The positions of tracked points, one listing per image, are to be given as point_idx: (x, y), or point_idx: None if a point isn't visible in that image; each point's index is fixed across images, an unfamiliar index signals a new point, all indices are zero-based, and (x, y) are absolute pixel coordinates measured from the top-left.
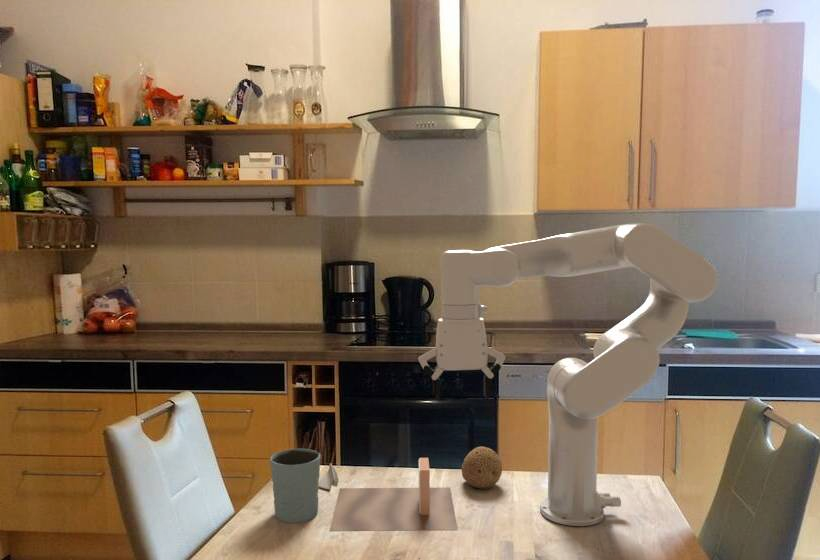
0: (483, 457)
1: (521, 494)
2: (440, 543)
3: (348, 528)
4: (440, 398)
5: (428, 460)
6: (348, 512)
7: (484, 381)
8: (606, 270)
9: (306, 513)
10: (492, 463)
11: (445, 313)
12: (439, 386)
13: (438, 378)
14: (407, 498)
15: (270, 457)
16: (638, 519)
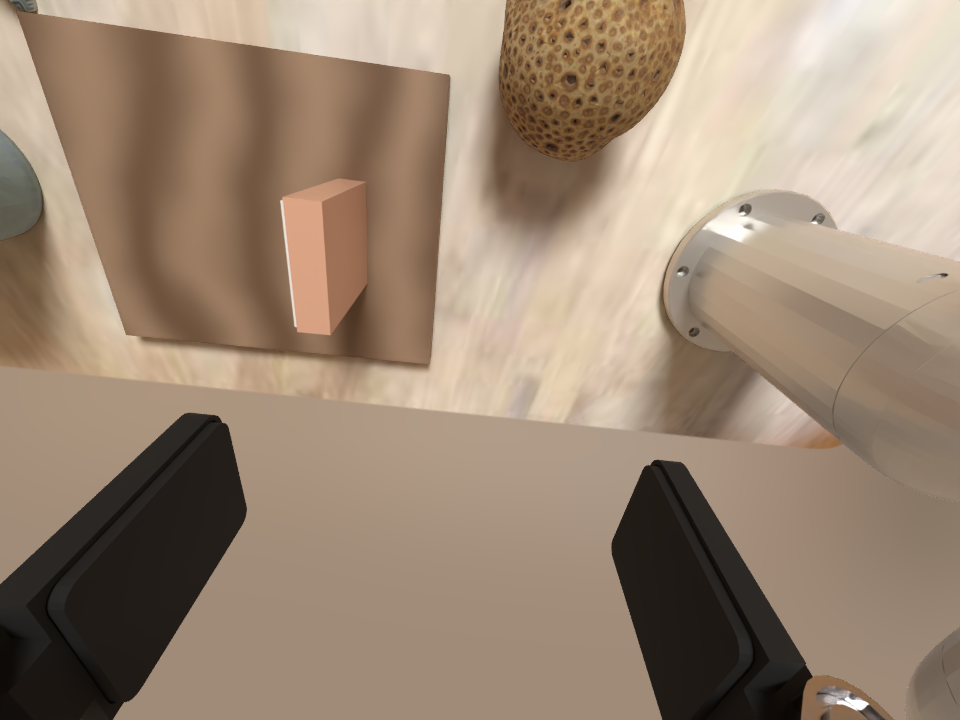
0: (588, 115)
1: (685, 119)
2: (391, 372)
3: (169, 329)
4: (242, 522)
5: (323, 235)
6: (135, 239)
7: (682, 650)
8: None
9: (11, 234)
10: (618, 129)
11: None
12: (166, 632)
13: (75, 712)
14: (298, 159)
15: None
16: None
